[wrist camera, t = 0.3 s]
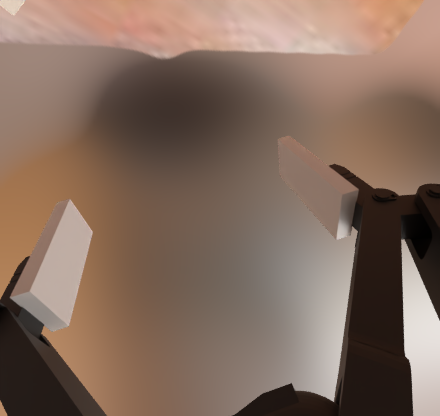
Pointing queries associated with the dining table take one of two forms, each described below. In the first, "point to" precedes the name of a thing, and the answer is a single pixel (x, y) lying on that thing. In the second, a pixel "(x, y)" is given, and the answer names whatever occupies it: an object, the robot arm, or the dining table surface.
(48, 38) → the dining table surface
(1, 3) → the tile
